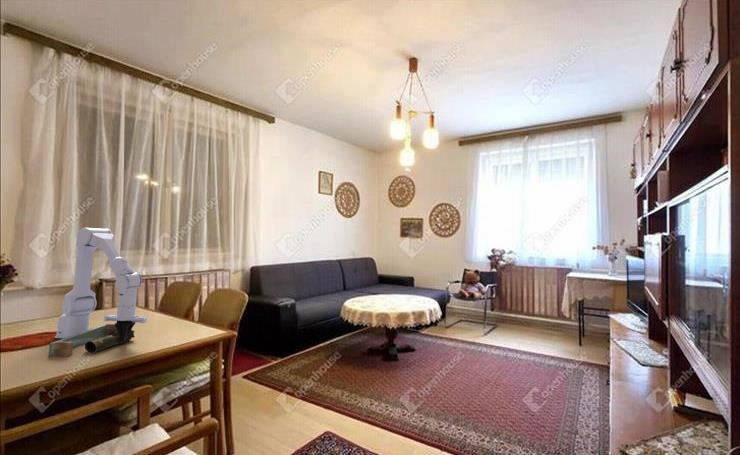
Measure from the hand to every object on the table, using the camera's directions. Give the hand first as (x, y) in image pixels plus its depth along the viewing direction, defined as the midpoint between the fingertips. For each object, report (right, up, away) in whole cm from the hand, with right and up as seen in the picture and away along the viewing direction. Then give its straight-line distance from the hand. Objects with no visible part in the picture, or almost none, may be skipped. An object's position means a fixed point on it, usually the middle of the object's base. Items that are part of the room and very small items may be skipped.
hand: (123, 340), depth 136 cm
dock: (-13, -1, -1) cm, 13 cm away
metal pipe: (-5, -2, -1) cm, 5 cm away
